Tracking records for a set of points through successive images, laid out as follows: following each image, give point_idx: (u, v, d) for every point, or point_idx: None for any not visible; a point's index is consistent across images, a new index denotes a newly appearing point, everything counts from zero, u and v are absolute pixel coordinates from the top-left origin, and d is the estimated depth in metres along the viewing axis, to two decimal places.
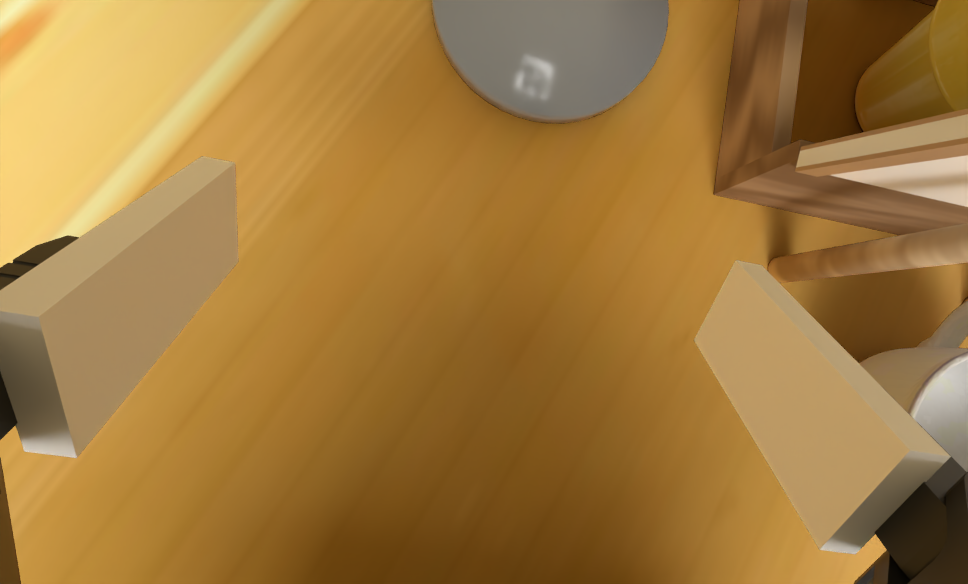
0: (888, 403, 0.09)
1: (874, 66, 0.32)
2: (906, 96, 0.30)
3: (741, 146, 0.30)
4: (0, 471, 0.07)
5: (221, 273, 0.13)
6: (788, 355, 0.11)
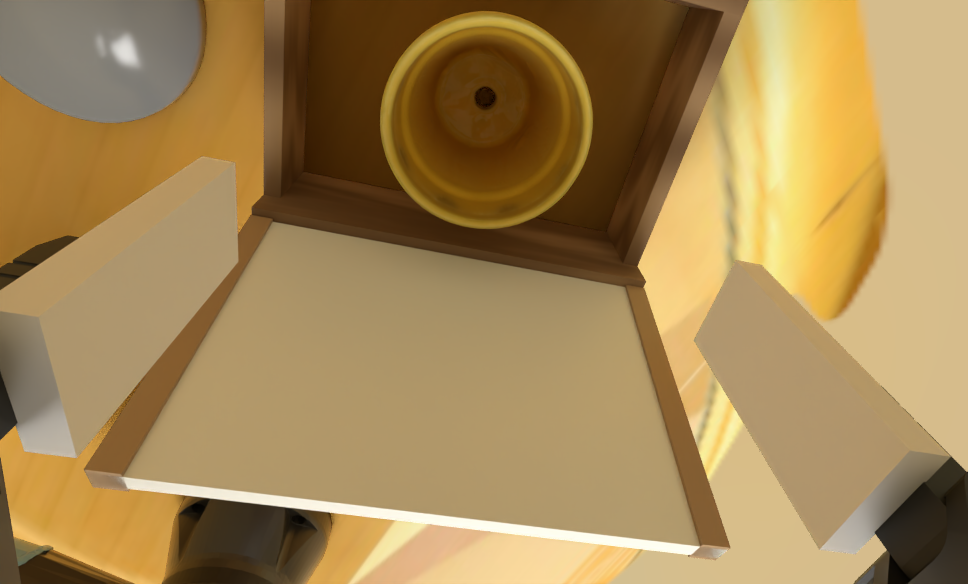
0: (888, 403, 0.09)
1: None
2: None
3: None
4: (0, 471, 0.07)
5: (221, 273, 0.13)
6: (788, 355, 0.11)
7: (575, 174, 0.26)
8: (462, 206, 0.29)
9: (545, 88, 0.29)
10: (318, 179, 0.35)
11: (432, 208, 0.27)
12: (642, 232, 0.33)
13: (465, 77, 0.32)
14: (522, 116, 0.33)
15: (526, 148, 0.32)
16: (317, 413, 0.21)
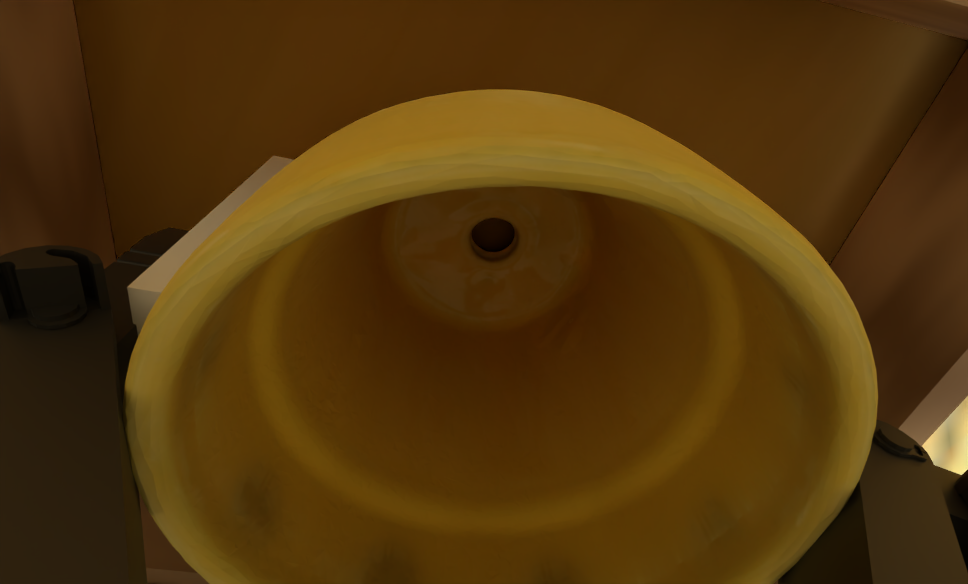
0: None
1: None
2: None
3: None
4: None
5: None
6: None
7: (774, 579, 0.09)
8: (434, 575, 0.11)
9: (647, 255, 0.12)
10: None
11: None
12: None
13: (448, 199, 0.14)
14: (573, 273, 0.15)
15: (588, 365, 0.14)
16: None
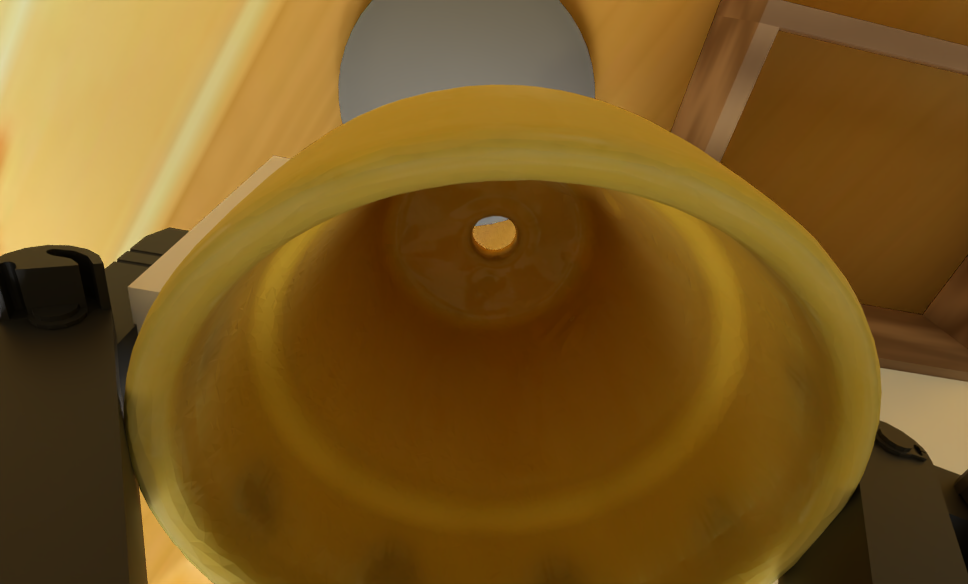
0: None
1: None
2: None
3: None
4: None
5: None
6: None
7: (776, 576, 0.09)
8: (436, 572, 0.11)
9: (649, 253, 0.12)
10: None
11: None
12: None
13: (449, 197, 0.14)
14: (574, 271, 0.15)
15: (589, 363, 0.14)
16: None
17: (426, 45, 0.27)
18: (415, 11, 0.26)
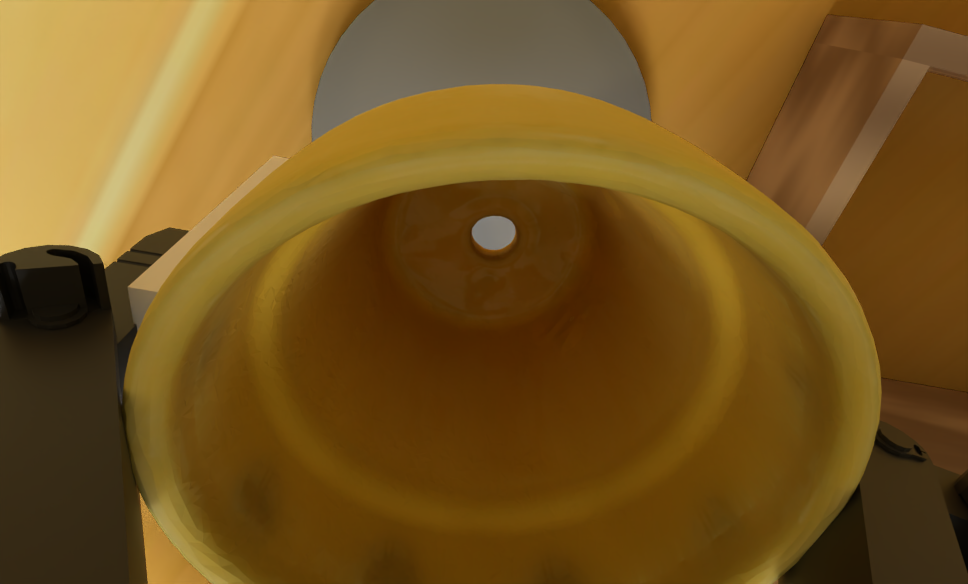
0: None
1: None
2: None
3: None
4: None
5: None
6: None
7: (776, 576, 0.09)
8: (435, 573, 0.11)
9: (648, 252, 0.11)
10: None
11: None
12: None
13: (448, 197, 0.14)
14: (574, 271, 0.15)
15: (589, 362, 0.14)
16: None
17: (429, 77, 0.20)
18: (415, 33, 0.19)
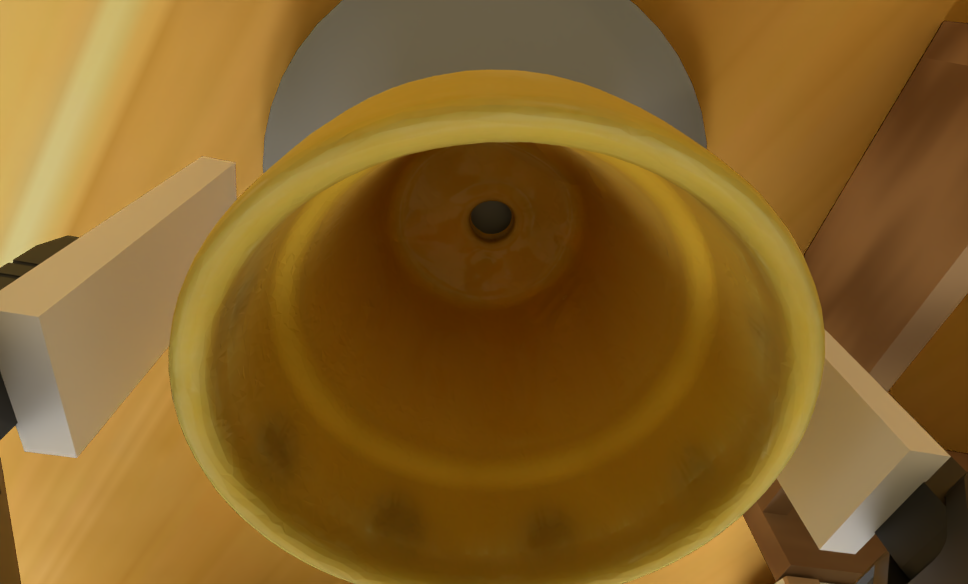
0: (888, 403, 0.09)
1: None
2: None
3: None
4: (0, 471, 0.07)
5: None
6: None
7: (743, 509, 0.10)
8: (438, 521, 0.12)
9: (632, 229, 0.13)
10: None
11: (355, 575, 0.10)
12: None
13: (449, 183, 0.15)
14: (566, 253, 0.17)
15: (580, 336, 0.15)
16: None
17: None
18: (396, 46, 0.14)
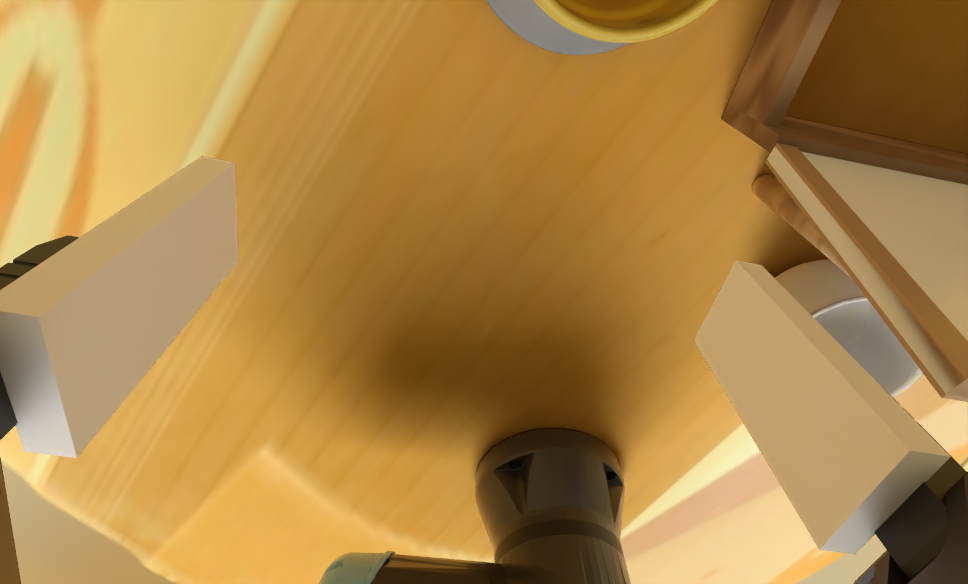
0: (888, 403, 0.09)
1: None
2: None
3: (752, 90, 0.32)
4: None
5: (221, 273, 0.13)
6: (788, 355, 0.11)
7: None
8: (590, 20, 0.23)
9: None
10: None
11: (561, 12, 0.22)
12: None
13: None
14: None
15: None
16: None
17: None
18: None
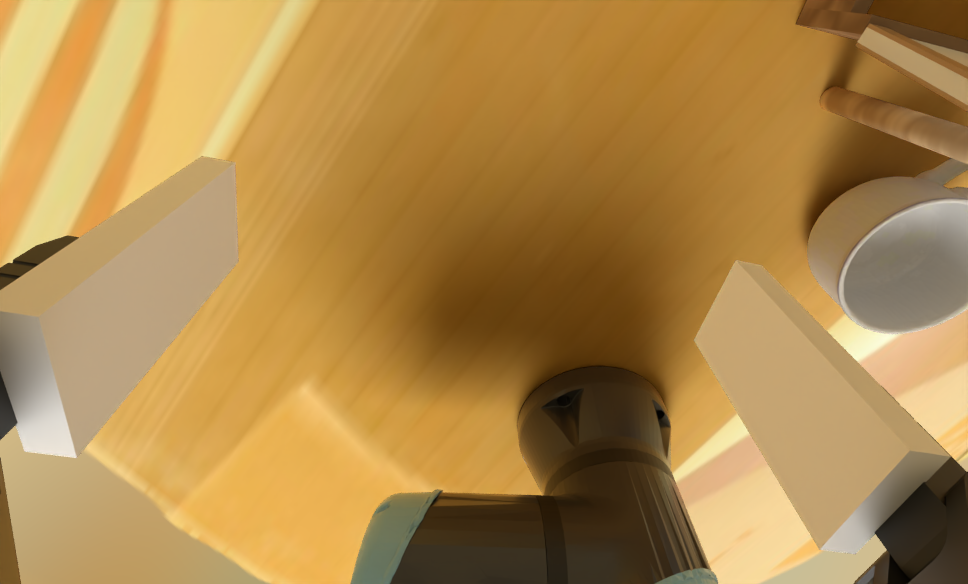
0: (888, 403, 0.09)
1: None
2: None
3: None
4: (0, 471, 0.07)
5: (221, 273, 0.13)
6: (788, 355, 0.11)
7: None
8: None
9: None
10: None
11: None
12: None
13: None
14: None
15: None
16: None
17: None
18: None
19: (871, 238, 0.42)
